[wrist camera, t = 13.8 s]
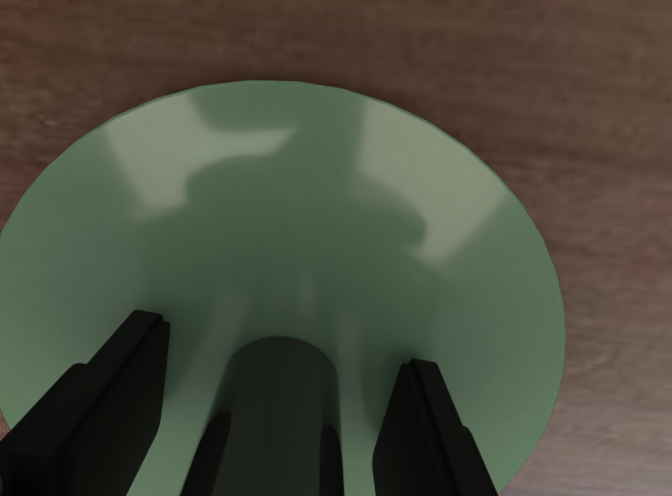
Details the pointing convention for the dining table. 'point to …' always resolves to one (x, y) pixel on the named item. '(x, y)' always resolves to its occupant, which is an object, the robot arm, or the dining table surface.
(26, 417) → the robot arm
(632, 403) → the dining table surface
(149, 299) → the pot lid
